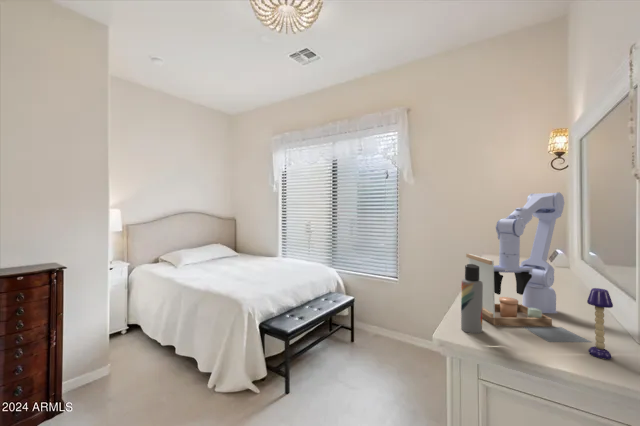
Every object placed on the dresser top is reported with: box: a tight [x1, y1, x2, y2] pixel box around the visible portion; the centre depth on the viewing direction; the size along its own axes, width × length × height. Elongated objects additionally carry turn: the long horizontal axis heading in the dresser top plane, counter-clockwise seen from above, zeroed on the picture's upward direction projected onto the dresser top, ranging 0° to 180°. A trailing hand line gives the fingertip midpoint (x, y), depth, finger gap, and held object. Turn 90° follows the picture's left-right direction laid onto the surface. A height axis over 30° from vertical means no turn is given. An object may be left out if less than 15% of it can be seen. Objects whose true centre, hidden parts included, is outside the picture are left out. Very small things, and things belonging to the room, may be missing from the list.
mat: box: [522, 326, 592, 343], centre depth 82 cm, size 12×10×1 cm
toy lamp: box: [586, 287, 614, 360], centre depth 71 cm, size 5×5×17 cm
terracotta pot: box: [498, 296, 519, 318], centre depth 95 cm, size 5×5×6 cm
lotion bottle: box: [460, 263, 483, 334], centre depth 85 cm, size 6×6×20 cm
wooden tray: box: [482, 303, 553, 327], centre depth 95 cm, size 18×14×3 cm
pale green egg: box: [528, 308, 543, 318], centre depth 91 cm, size 4×4×4 cm
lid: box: [465, 253, 496, 318], centre depth 95 cm, size 18×14×1 cm
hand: (508, 293), depth 95 cm, fingers open, 7 cm apart
